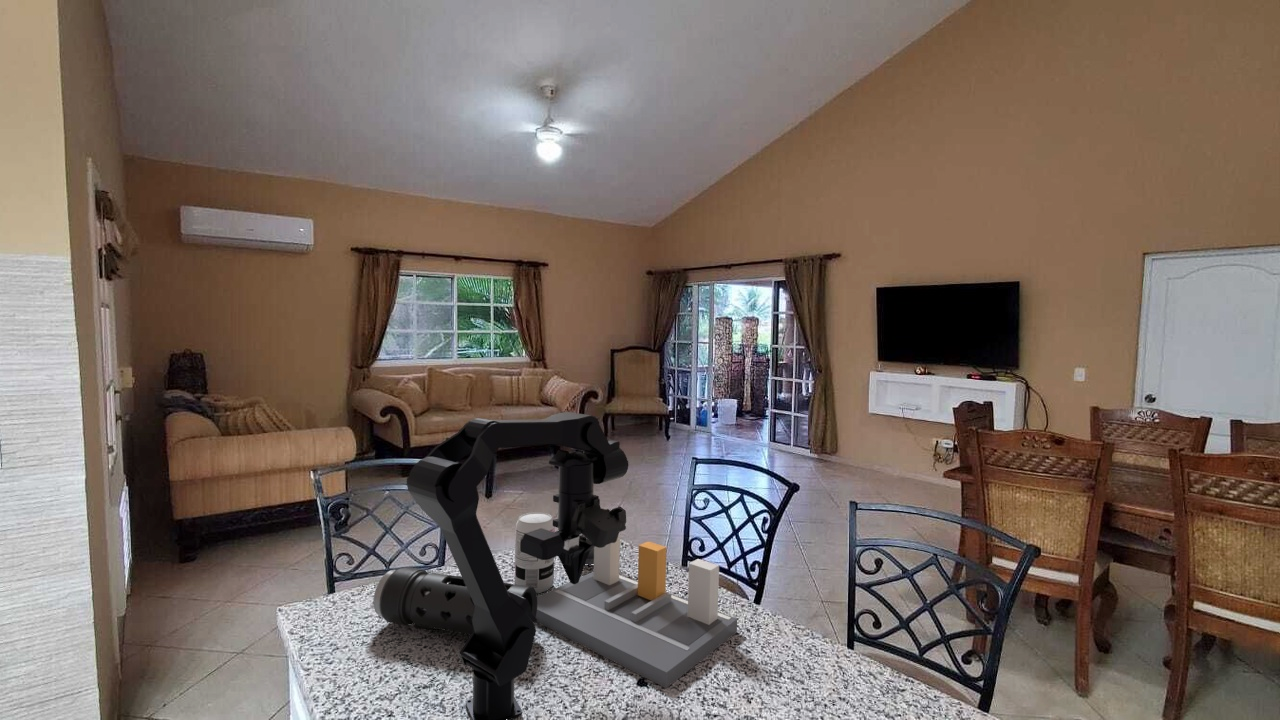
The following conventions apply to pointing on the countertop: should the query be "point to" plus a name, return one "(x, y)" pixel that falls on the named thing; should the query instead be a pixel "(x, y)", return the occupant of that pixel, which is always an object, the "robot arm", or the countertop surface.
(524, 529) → the supplement can
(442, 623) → the muzzle brake
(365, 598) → the countertop surface
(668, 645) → the slotted gray tray
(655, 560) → the orange tall block
